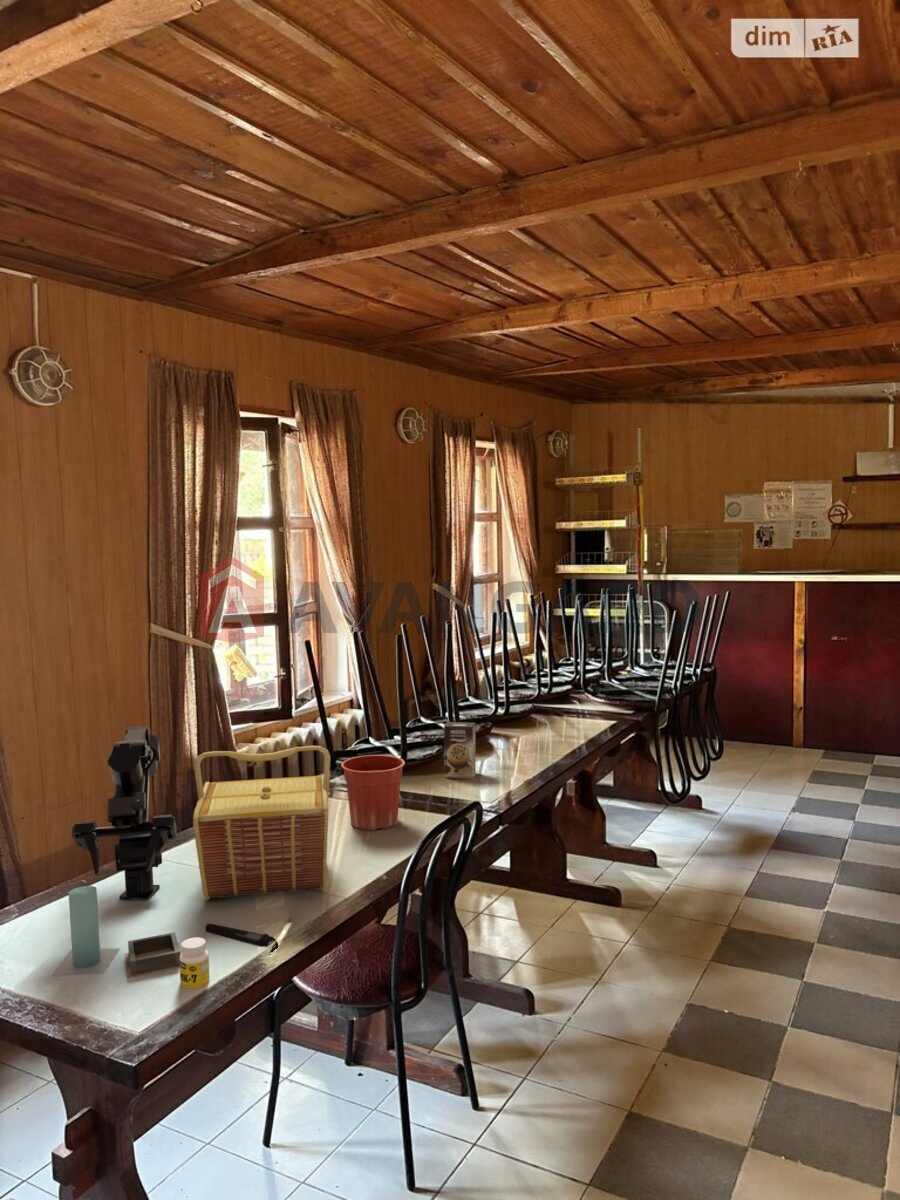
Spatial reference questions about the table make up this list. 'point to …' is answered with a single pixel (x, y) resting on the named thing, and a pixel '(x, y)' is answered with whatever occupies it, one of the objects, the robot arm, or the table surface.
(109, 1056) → the table surface
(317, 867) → the picnic basket
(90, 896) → the peg
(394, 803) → the flower pot
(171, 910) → the table surface
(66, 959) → the pad
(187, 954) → the supplement bottle
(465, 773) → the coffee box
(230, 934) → the electric trimmer
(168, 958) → the socket
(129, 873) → the robot arm
